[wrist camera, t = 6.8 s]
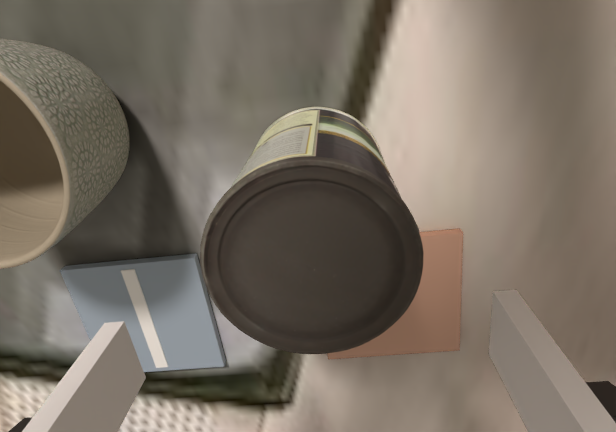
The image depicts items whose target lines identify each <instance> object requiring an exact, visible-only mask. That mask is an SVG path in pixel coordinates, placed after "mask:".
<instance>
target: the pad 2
mask: <svg viewBox="0 0 616 432" xmlns="http://www.w3.org/2000/svg"><path fill="white" fill-rule="evenodd" d="M419 233H420V237H421V241H422V245H423V252H424V254H423V270H422V276H421V281H420V284H419V287H418V290H417V293H416V295H415V297H414V299H413V301H412V303H411V304H410V306H409V308H408V309H407V310H406V312H405V313H404V314H403V315H402V316H401V317H400V319H399V320H398V321H397V322H395V323H394V324H393V325H392V326H391V327H390V328H389V329H387V330H386V331H385V332H384V333H382V334H381V335H379V336H378V337H376V338H374V339H372V340H371V341H369V342H367V343H365V344H363V345H360V346H358V347H355V348H352V349H349V350H345V351H340V352H334V353H327V354H328V359H340V358H354V357H369V356H383V355H397V354H412V353H426V352H441V351H455V350H459V349H460V317H461V285H462V253H463V232H462V231H461V229H450V230H439V231H429V232H419Z"/></svg>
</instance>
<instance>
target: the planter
mask: <svg viewBox="0 0 616 432" xmlns="http://www.w3.org/2000/svg"><path fill="white" fill-rule="evenodd" d="M128 155H129V131H128V125H127V121H126V118H125V115H124V113H123V110H122V108H121V106H120V104H119V102H118V100H117V98H116V97H115V95H114V94H113V92H112V91H111V89H110V88H109V87H108V86H107V84H106V83H105V82H104V81H103V80H102V79H101V78H100V77H99V76H98V75H97V74H96V73H95V72H94V71H93V70H91V69H90V68H89V67H87V66H86V65H85V64H83V63H82V62H80V61H79V60H77V59H75V58H73V57H72V56H70V55H68V54H66V53H63V52H61V51H59V50H56V49H53V48H50V47H46V46H42V45H38V44H33V43H28V42H22V41H15V40H7V39H0V269H4V268H10V267H15V266H19V265H22V264H25V263H28V262H30V261H32V260H34V259H36V258H38V257H39V256H41V255H42V254H44V253H45V252H46V251H48V250H49V249H50V248H52V247H53V246H54V245H55V244H57V243H58V242H59V241H60V240H61V239H63V238H64V237H65V236H66V235H67V234H68V233H70V232H71V231H72V230H73V229H74V228H75V227H76V226H77V225H78V224H79V223H80V222H81V221H82V220H83V219H84V218H85V217H86V216H87V215H88V214H89V213H90V212H91V211H92V210H93V209H94V208H95V207H96V206H97V205H98V204H99V203H100V202H101V201H102V200H103V199H104V198H105V197H106V196H107V195H108V193H109V192H110V191H111V190H112V188H113V187H114V186H115V184H116V183H117V182H118V180H119V179H120V177H121V175H122V173H123V171H124V169H125V166H126V163H127V159H128Z"/></svg>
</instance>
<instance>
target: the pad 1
mask: <svg viewBox="0 0 616 432" xmlns="http://www.w3.org/2000/svg"><path fill="white" fill-rule="evenodd" d="M60 272H61V274H62V277H63V279H64V281H65V284H66V286H67V288H68V291H69V293H70V295H71V297H72V300H73V302H74V304H75V307H76V309H77V311H78V313H79V316H80V318H81V320H82V323H83V325H84V327H85V330H86V332H87V334H88V336H89V339H90V341H91V340H92V339H93V337H94V336H95V335H96V333H97V332H98V331H99V330H100V328H101V327H102V326H103V324H104V323H109V322H122V321H124V322H125V324H126V327H127V330H128V332H129V335H130V337H131V340H132V343H133V345H134V348H135V351H136V353H137V356H138V358H139V361H140V364H141V366H142V369H143V371H144V372H152V371H167V370H181V369H196V368H210V367H224V365H225V362H226V358H225V355H224V351H223V347H222V344H221V340H220V336H219V333H218V329H217V325H216V322H215V318H214V314H213V311H212V307H211V303H210V299H209V296H208V292H207V288H206V285H205V282H204V279H203V275H202V271H201V266H200V263H199V259H198V255H197V253H196V254H185V255H175V256H164V257H154V258H143V259H132V260H122V261H111V262H101V263H90V264H79V265H69V266H64V267H63V268H62V269H61V270H60Z"/></svg>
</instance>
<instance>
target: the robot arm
mask: <svg viewBox="0 0 616 432" xmlns="http://www.w3.org/2000/svg"><path fill="white" fill-rule="evenodd" d="M489 356H490V358H491V360H492V362H493V364H494V366H495V368H496V370H497V372H498V373H499V375H500V377H501V379H502V381H503V383H504V385H505V387H506V389H507V391H508V393H509V395H510V397H511V399H512V401H513V403H514V405H515V407H516V409H517V411H518V413H519V415H520V417H521V419H522V421H523V422H524V424H525V426H526V428H527V430H528V432H616V386H614V385H613V384H611V383H610V382H609V381H602V382H585V381H584V380H583V378H582V377H581V376H580V374H579V373H578V372H577V370H576V369H575V368H574V366H573V365H572V364H571V362H570V361H569V360H568V358H567V357H566V356H565V354H564V353H563V352H562V350H561V349H560V348H559V346H558V345H557V344H556V342H555V341H554V340H553V338H552V337H551V335H550V334H549V333H548V331H547V330H546V329H545V327H544V326H543V325H542V323H541V322H540V321H539V319H538V318H537V317H536V315H535V314H534V313H533V311H532V310H531V309H530V307H529V306H528V305H527V303H526V302H525V301H524V299H523V298H522V297H521V295H520V294H519V293H518V291H517V290H516V289H515V290H503V291H493V296H492V310H491V325H490V340H489ZM145 378H146V377H145V374H144V371H143V369H142V366H141V364H140V361H139V358H138V356H137V353H136V351H135V348H134V345H133V343H132V340H131V337H130V335H129V332H128V330H127V327H126V324H125V322H124V321H122V322H109V323H104V324H103V326H102V327H101V328H100V330H99V331H98V332H97V333H96V335H95V336H94V337H93V339H92V340H91V341H90V343H89V344H88V345H87V347H86V348H85V349H84V351H83V352H82V353H81V355H80V356H79V357H78V358H77V360H76V361H75V362H74V364H73V365H72V366H71V368H70V369H69V370H68V372H67V373H66V374H65V376H64V377H63V378H62V380H61V381H60V382H59V383H58V385H57V386H56V387H55V389H54V390H53V391H52V393H51V394H50V395H49V397H48V398H47V399H46V401H45V402H44V403H43V405H42V406H41V407H40V408H39V410H38V411H37V412H36V414H35V415H34V416H33V418H24V419H23V420H22V421H20V422H19V423H18V424H17V425H16V426H15V427H13V428H12V429H11V430H10V431H9V432H118V430H119V428H120V426H121V424H122V422H123V420H124V418H125V417H126V415H127V413H128V411H129V409H130V407H131V405H132V403H133V401H134V399H135V397H136V395H137V393H138V392H139V390H140V388H141V386H142V384H143V382H144V380H145Z"/></svg>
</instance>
